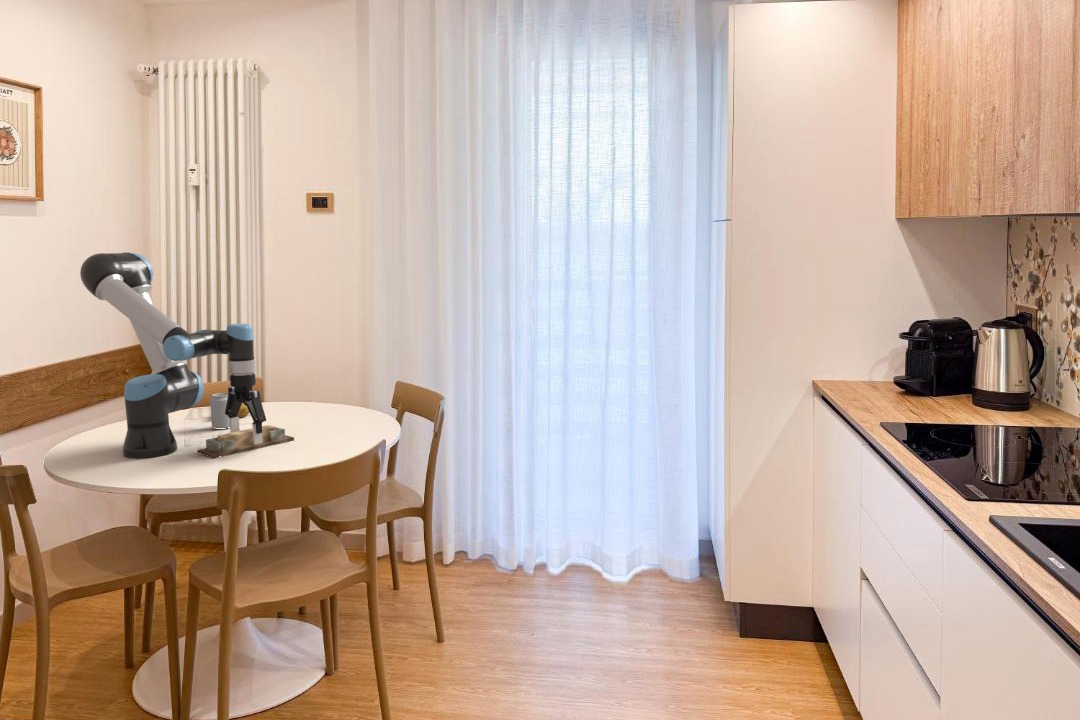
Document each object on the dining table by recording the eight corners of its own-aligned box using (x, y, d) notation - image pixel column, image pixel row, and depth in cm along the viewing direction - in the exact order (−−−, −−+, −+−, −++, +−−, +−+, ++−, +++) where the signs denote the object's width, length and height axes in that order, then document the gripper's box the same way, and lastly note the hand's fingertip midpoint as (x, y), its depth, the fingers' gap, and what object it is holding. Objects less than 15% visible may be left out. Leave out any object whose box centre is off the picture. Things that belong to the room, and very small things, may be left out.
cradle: (214, 458, 243) (213, 445, 242) (196, 453, 249) (195, 440, 249) (294, 440, 265) (293, 428, 264) (276, 435, 271) (275, 424, 270)
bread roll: (221, 414, 307) (220, 393, 306) (248, 411, 311) (247, 391, 310) (223, 420, 296) (222, 399, 294) (251, 418, 300) (250, 396, 298)
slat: (225, 450, 249) (224, 437, 248) (218, 448, 251) (217, 435, 251) (276, 438, 262) (275, 426, 262) (269, 437, 265) (268, 425, 264)
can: (238, 425, 287) (236, 392, 285) (228, 430, 280) (226, 396, 278) (218, 425, 288) (216, 392, 286) (207, 430, 280) (205, 395, 279)
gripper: (275, 375, 249) (279, 443, 252) (232, 368, 264) (236, 432, 267) (253, 378, 243) (257, 448, 246) (210, 371, 258) (215, 437, 261)
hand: (246, 440), depth 257 cm, fingers open, 12 cm apart
